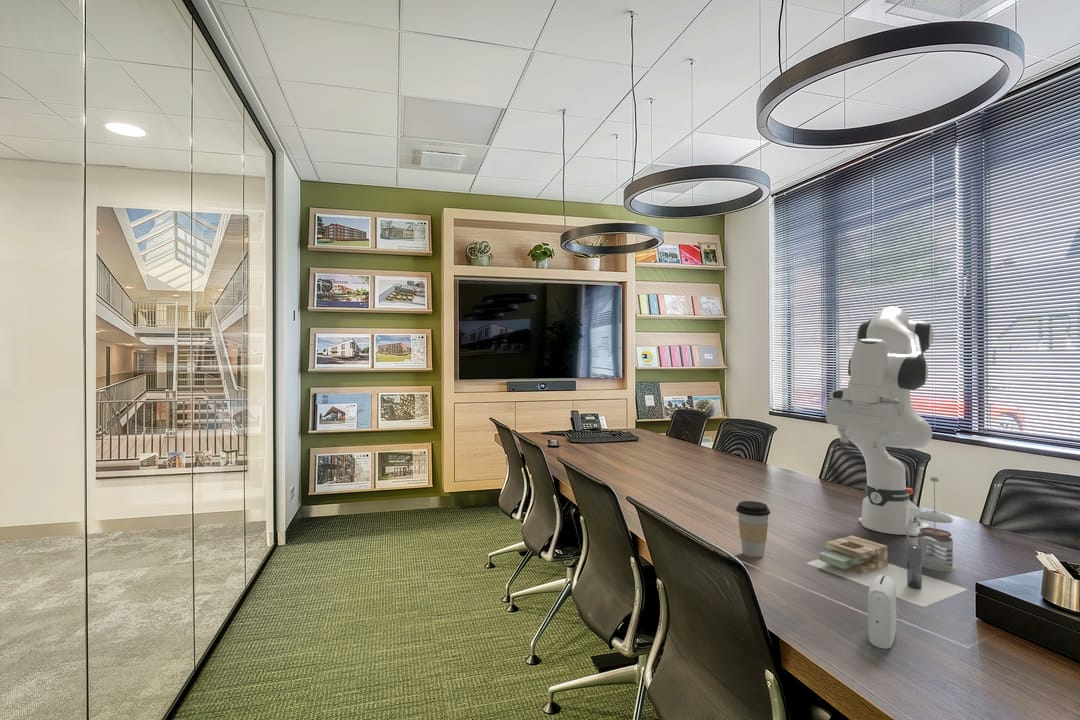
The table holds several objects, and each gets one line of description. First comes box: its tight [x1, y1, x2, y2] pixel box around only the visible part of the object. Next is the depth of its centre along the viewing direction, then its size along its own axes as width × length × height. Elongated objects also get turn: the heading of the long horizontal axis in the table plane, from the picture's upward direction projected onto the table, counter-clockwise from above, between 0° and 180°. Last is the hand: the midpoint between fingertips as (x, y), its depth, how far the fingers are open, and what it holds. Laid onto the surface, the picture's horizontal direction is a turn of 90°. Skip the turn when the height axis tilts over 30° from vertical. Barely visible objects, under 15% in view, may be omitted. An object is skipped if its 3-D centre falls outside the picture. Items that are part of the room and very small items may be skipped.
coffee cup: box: [735, 500, 771, 558], centre depth 155 cm, size 9×9×15 cm
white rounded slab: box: [867, 575, 897, 650], centre depth 108 cm, size 10×4×12 cm, turn 140°
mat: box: [806, 558, 969, 608], centre depth 138 cm, size 20×30×1 cm, turn 27°
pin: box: [906, 544, 923, 589], centre depth 131 cm, size 3×3×10 cm
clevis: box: [818, 535, 888, 574], centre depth 145 cm, size 17×10×6 cm, turn 117°
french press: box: [905, 476, 957, 572], centre depth 146 cm, size 10×12×25 cm
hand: (860, 445), depth 145 cm, fingers open, 8 cm apart
